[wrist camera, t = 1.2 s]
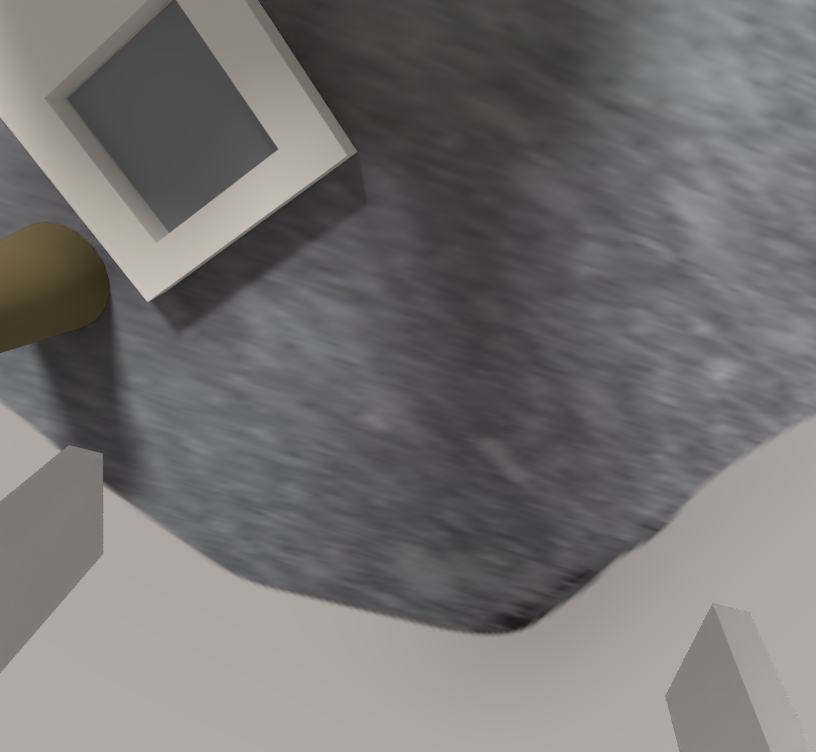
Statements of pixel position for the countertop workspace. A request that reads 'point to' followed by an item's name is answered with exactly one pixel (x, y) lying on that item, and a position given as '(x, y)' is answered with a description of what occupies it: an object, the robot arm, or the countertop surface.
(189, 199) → the socket plate
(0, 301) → the cork
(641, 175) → the countertop surface
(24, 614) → the robot arm
